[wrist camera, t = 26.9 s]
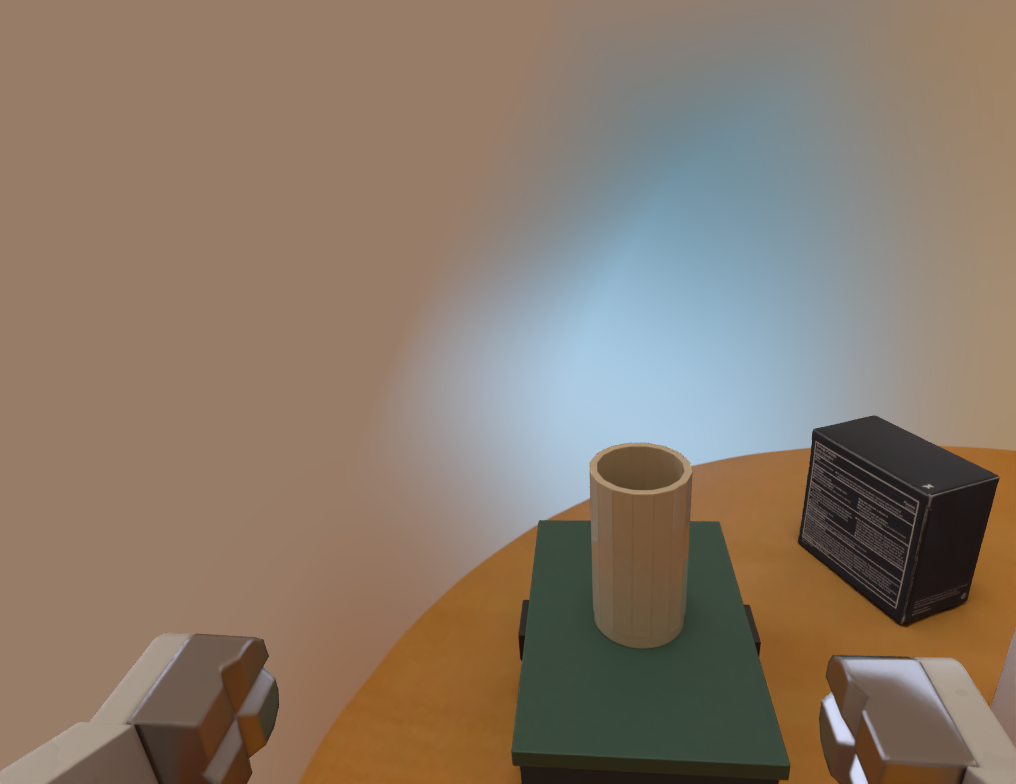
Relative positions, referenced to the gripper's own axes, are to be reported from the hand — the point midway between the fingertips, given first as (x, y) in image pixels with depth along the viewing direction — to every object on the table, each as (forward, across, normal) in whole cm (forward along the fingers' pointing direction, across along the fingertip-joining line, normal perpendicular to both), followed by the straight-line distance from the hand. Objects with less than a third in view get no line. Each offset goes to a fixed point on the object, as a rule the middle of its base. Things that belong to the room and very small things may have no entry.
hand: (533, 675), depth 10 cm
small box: (+37, -22, +28) cm, 51 cm away
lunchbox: (+24, -3, +28) cm, 37 cm away
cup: (+24, -3, +21) cm, 32 cm away
